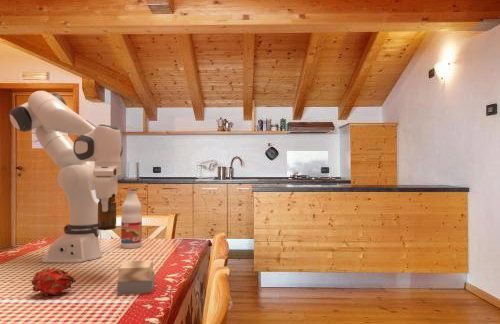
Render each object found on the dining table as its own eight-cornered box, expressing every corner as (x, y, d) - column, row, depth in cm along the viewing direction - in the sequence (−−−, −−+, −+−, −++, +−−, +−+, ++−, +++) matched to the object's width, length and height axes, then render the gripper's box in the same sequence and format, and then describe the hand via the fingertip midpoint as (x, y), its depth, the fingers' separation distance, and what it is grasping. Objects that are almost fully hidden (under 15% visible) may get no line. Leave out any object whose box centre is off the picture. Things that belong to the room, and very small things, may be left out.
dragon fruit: (28, 300, 110) (71, 303, 113) (23, 290, 104) (70, 293, 107) (37, 272, 116) (78, 275, 119) (33, 261, 109) (77, 265, 112)
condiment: (113, 226, 136) (113, 192, 136) (122, 228, 129) (122, 194, 129) (92, 228, 131) (92, 194, 131) (101, 231, 124) (101, 195, 125)
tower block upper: (118, 281, 112) (118, 268, 112) (124, 273, 121) (124, 261, 121) (149, 280, 113) (149, 267, 113) (152, 272, 122) (153, 260, 122)
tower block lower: (117, 296, 111) (117, 282, 111) (122, 285, 121) (122, 273, 121) (152, 294, 113) (152, 280, 113) (154, 284, 123) (154, 271, 123)
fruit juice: (145, 245, 182) (146, 188, 182) (133, 249, 173) (133, 189, 173) (129, 244, 185) (130, 187, 186) (116, 248, 176) (117, 188, 177)
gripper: (104, 170, 141) (104, 207, 140) (91, 170, 121) (91, 213, 120) (122, 170, 142) (121, 206, 142) (112, 170, 122) (111, 213, 121)
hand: (107, 210), depth 131 cm, fingers closed on condiment, 6 cm apart
